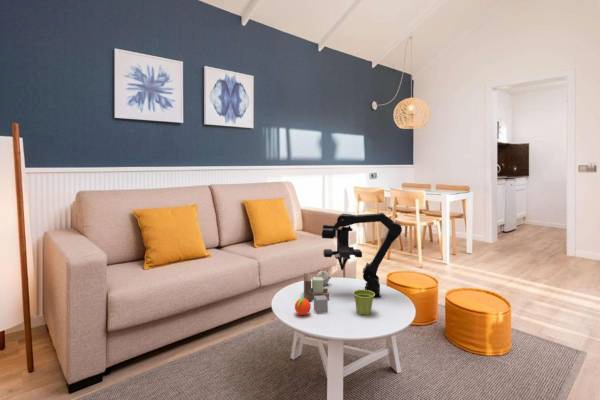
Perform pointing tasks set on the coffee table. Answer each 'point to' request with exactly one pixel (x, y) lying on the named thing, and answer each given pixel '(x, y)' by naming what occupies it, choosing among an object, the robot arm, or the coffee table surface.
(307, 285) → the walnut console
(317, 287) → the pale green block
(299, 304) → the clementine
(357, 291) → the plant pot
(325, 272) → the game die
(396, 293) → the coffee table surface
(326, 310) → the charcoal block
